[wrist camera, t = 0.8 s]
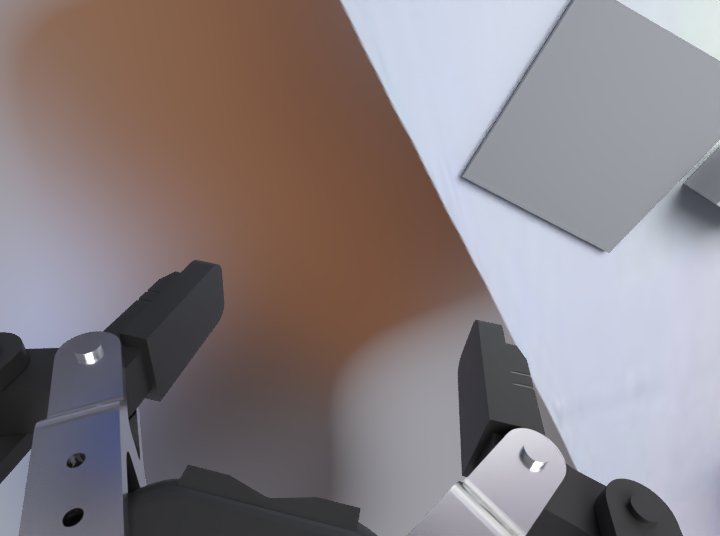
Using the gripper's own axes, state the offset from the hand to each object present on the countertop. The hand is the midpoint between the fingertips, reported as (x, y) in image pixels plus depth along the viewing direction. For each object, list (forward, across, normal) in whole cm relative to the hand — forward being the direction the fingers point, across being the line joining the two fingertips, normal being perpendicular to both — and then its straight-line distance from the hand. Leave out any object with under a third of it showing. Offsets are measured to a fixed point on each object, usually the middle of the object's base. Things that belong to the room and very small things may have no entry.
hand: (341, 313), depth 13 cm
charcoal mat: (+28, -16, -1) cm, 32 cm away
